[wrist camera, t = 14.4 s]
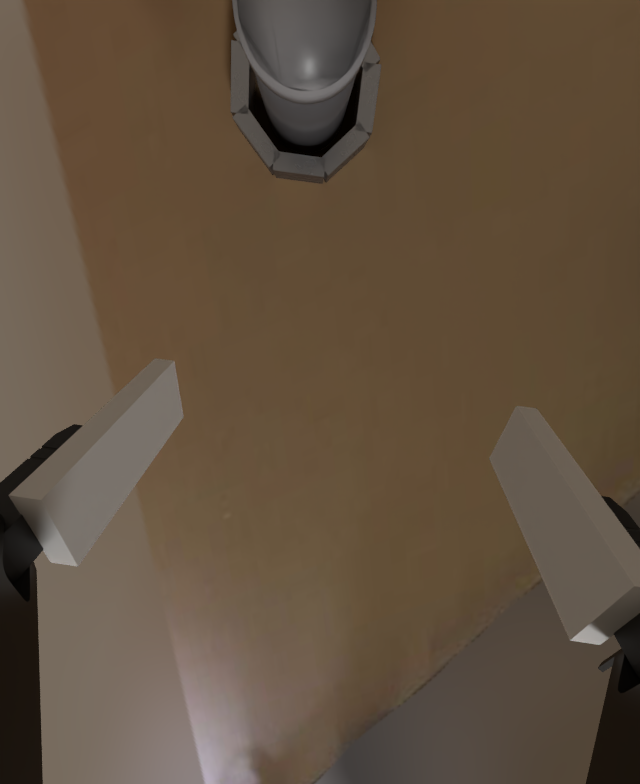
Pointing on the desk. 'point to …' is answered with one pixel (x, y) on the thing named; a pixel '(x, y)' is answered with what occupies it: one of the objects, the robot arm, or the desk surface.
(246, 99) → the collar
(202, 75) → the desk surface
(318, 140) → the tube
